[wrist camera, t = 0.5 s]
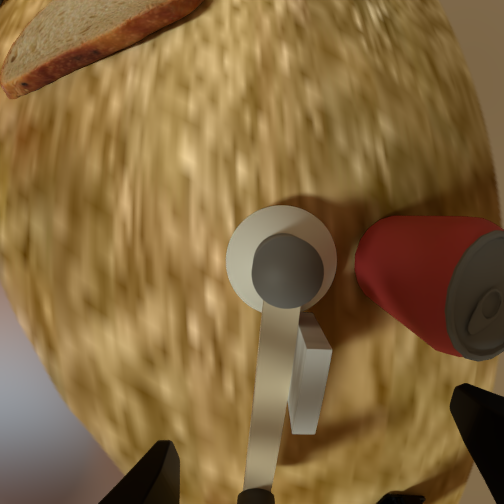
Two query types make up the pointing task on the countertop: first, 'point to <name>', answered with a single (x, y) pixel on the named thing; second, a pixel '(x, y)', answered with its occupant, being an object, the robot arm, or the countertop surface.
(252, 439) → the lever
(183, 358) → the countertop surface
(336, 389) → the countertop surface
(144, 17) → the slice of bread
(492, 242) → the beer can
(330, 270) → the lever base
